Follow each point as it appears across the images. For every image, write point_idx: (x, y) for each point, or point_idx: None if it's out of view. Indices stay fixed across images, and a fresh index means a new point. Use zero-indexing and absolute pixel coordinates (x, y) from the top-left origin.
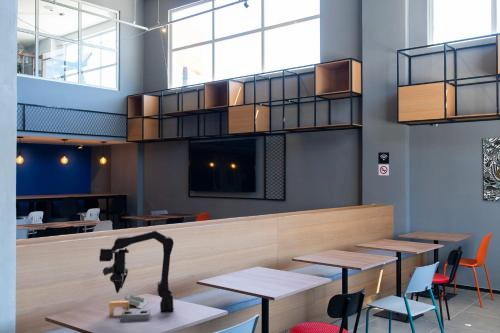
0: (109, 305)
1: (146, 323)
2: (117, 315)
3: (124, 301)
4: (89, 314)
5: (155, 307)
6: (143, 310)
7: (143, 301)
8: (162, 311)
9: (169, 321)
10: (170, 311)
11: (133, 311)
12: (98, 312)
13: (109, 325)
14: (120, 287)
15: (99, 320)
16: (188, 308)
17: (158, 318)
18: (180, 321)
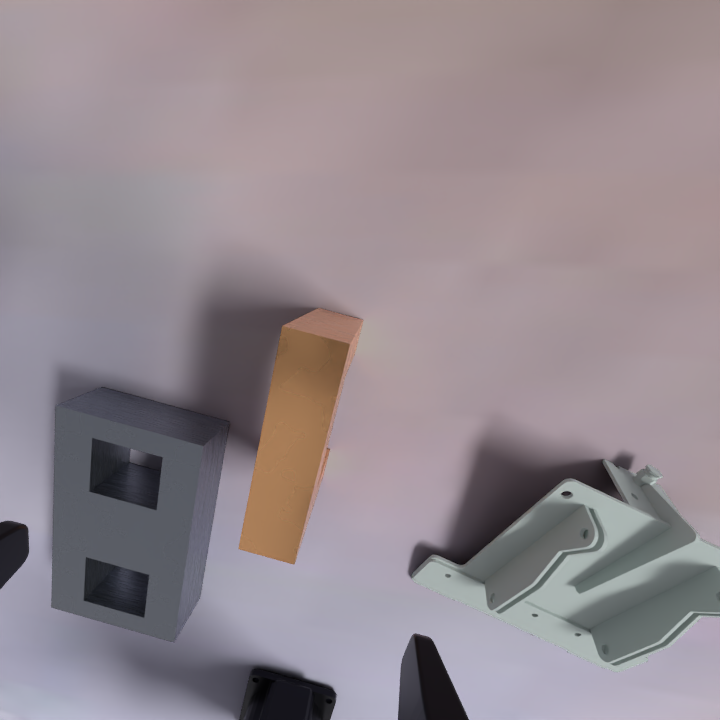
0: (293, 323)
1: None
2: None
3: (282, 513)
4: (429, 89)
5: None
6: (167, 595)
7: (592, 634)
8: (249, 680)
9: (44, 660)
10: (240, 716)
11: (157, 522)
12: (467, 198)
13: (10, 291)
14: (407, 672)
15: (171, 205)
16: None
17: None
18: (35, 705)
